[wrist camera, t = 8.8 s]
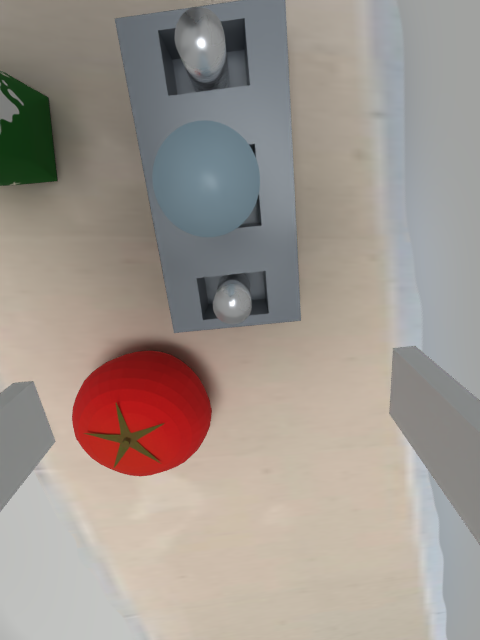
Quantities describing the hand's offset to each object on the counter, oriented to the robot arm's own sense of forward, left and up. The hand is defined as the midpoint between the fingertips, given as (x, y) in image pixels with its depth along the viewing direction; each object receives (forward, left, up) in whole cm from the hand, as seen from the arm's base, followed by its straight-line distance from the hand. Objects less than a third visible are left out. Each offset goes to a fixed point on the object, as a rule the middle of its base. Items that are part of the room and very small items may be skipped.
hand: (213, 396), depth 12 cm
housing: (-8, 0, -24) cm, 26 cm away
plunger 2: (+1, 0, -22) cm, 22 cm away
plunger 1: (-17, 0, -22) cm, 28 cm away
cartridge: (-8, 0, -23) cm, 25 cm away
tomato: (+13, -11, -25) cm, 30 cm away
